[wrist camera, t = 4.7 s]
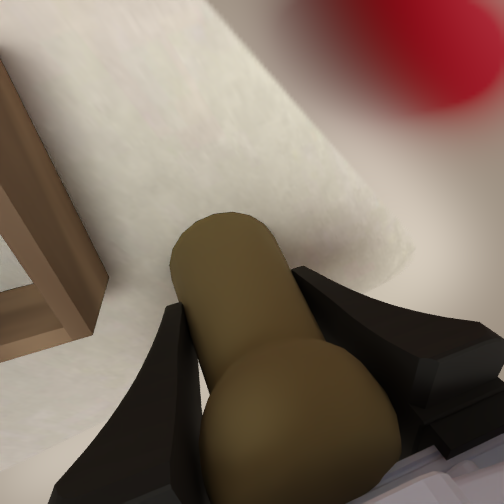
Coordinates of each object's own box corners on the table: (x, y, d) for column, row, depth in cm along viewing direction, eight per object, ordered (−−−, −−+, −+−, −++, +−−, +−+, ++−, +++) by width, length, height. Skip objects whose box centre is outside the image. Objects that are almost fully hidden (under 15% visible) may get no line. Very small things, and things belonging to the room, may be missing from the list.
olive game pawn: (283, 290, 17) (425, 507, 8) (187, 321, 16) (225, 609, 7) (270, 198, 14) (480, 381, 5) (152, 230, 13) (137, 533, 4)
